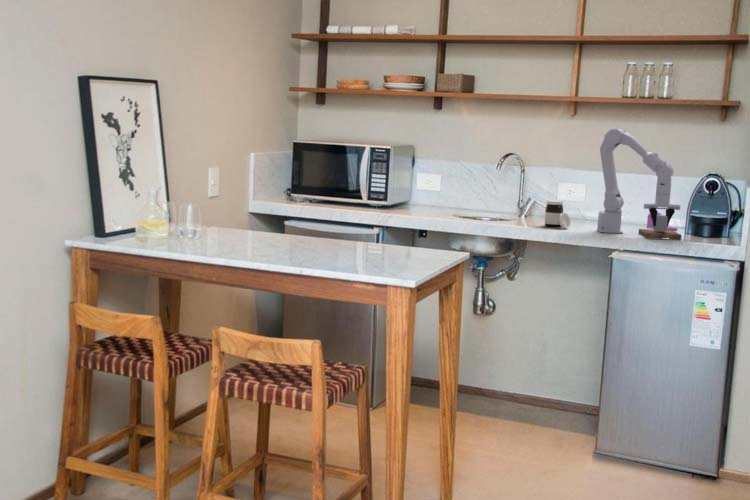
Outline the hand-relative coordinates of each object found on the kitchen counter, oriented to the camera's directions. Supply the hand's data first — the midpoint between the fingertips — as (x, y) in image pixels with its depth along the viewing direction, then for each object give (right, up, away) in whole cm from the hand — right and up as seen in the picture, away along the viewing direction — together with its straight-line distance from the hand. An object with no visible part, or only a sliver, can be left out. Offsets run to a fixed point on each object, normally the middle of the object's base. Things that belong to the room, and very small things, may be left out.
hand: (660, 226), depth 355 cm
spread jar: (-39, 0, +20) cm, 44 cm away
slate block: (0, -2, +1) cm, 2 cm away
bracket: (+10, -1, +25) cm, 27 cm away
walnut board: (0, -4, +1) cm, 4 cm away
